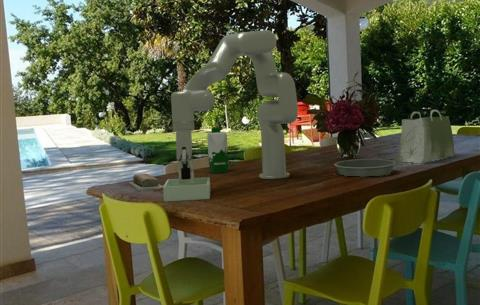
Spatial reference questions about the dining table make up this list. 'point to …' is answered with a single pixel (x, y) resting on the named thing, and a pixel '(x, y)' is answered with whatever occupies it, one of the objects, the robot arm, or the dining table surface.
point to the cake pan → (365, 167)
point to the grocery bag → (425, 139)
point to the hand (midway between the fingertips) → (186, 177)
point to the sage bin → (186, 190)
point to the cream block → (190, 172)
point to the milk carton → (217, 151)
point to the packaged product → (145, 182)
